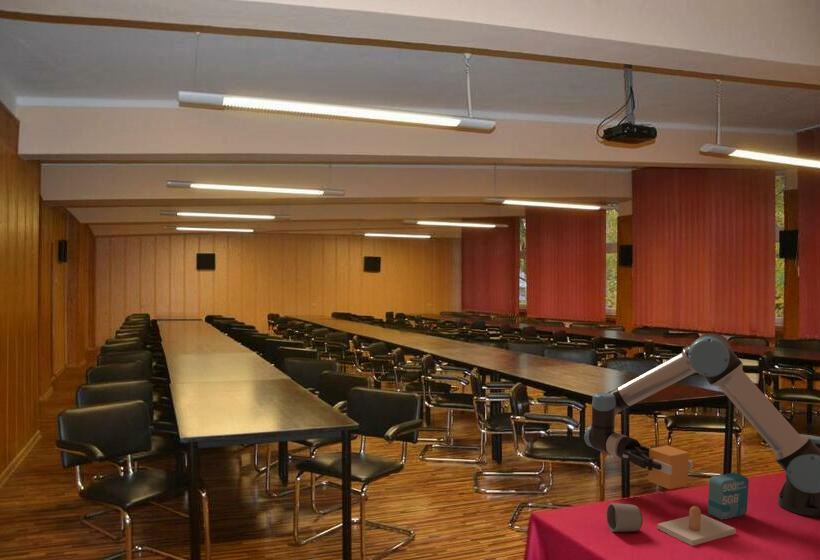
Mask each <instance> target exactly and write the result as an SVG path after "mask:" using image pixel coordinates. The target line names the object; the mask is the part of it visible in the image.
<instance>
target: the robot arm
mask: <svg viewBox="0 0 820 560" xmlns="http://www.w3.org/2000/svg"><path fill="white" fill-rule="evenodd" d="M743 364H744V363H743V362H742V360H741V359H740V358H739V357H738V356H737V354H735V353H734V351H733V349H732V344H731V343H730V341H729V340H728V339H727V338H726V337H724V336H723V335H722V334H720V333H715V332H709V333H704V334H702V335H700V336H699V337H697V339H696V340H694V341H693V342H691V343H690V344H689V345H686V346H685V347H683V348H682V351H681V353H679V354H677V355H675V356H673V357H671V358H669V359H667V360H665V361H664V362H662V363H661V364H658V365H657V366H655V367H652V368H651V369H650V370H648V371H645V372H644V373H642V374H640V375H638V376H637V377H634V378H633V379H631V380H629V381H627V382H625V383H624V384H622V385H620V386H618V387H616V388H615V389H612V390H609V391H607V392H603V391H602V392H596V393H593V394H592V400H591V401H592V402H591V425H590V426H588V427H587V428H586V430H585V433H584V435H583V439H584V442H585V444H586V445H587V446H588V447H590V448H593V449H594V450H596V451H599V452H603V453H605V454H608V455H611V456H612V457H613V456H614V457H615V459H621V460H623V461H625V462H629V463H632V464H633V465H636V466H637V467H640V468H642V469H647V471H652V468H653V469H656V470H658V471H661V472H664V473H666V474H669V475H672V465H669V464H666V463H664V462H661V461H658V460H655V459H654V460H653V461H652V459H650V458H649V449H651V448H656V446H654V445H651V446H650V447H647V446H645V445H641V443H640V442H639V441H638V439H636V438H633V437H630V436H627V435H625V434H621V433H619V432H616V431H615V428H616V427H615V425H616V420H615V419H616V416H617V415H618V413H620V412H622V411H624V410H626V409H628V408H629V407H632V406H633V405H636V404H637V403H639V402H641V401H642V400H645V399H646V398H648V397H650V396H652V395H655V394H656V393H658V392H660V391H662V390H663V389H665V388H667V387H669V386H672V385H674V384H676V383H677V382H679V381H680V380H682V379H685V378H687V377H688V376H691V375H693V374H696V373H697V374H699V375H701V376H702V377H703V378H704V379H705V381H707V382H708V383H709V385H710V386H713V387H718V388H720V390H721V391H722V392H723V393H724V394H725V395H726V397H727V398H728V399H729V401H731V402H732V404H733V405H734V406H735V407H736V408H737V409H738V411H739V412H740V413H741V414H742V416H743V417H744V418H745V419H746V420H747V422H749V423H750V424H751V426H752V427H753V428H754V429H755V430H756V431H757V432H758V435H760V436H761V437H762V439H764V441H765V442H766V443H767V444H768V446H769V447H770V448H771V449H772V451H774V454H773V455H774V456H773V459H774V460H775V462H776V463H777V464H778V465H779V466H780V468H782V470H783V471H784V472H785V480H784V483H783V485H782V487H781V490H780V492H779V493H778V498H777V503H778V506H779V507H781V509H784V510H786V511H788V512H791V513H794V514H798V515H801V516H807V517H814V518H820V436H817V435H811V434H805V433H804V434H803V433H801V434H800V433H798V431H796V429H795V428H794V427H793V426H792V425H791V424H790V422H788V420H787V419H786V418H785V417H784V416H783V414H782V413H781V412H780V411H779V410H778V409H777V408H776V407H775V406H774V405H773V403H772V402H771V401H770V400H769V399H768V397H766V395H765V394H764V393H763V392H762V391H761V389H759V388H758V386H757V385H756V384H755V383H754V381H753V380H752V379H750V377H749V376H748V375H747V373H745V371H744V370H743V368H744V367H743ZM688 471H693V461H692V460H690V459H689V465H688Z"/></svg>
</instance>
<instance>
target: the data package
mask: <svg viewBox="0 0 820 560" xmlns="http://www.w3.org/2000/svg"><path fill="white" fill-rule="evenodd" d="M749 483H750V480H749V478H748V476H744V475H741V474H740V473H736V472H729V473H724V474H718V475H712V476H711V477H710V479H709V481H708V497H707V514H708V515H710V516H712V517H715V518H716V519H719V520H721V521H724V520H723V519H725V520H729V519H733V518H732V517H734V518H738V517H742V515H743V516H744V515H746V514H747V511H748V501H749V500H748V498H749ZM728 518H729V519H728Z"/></svg>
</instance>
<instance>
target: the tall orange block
mask: <svg viewBox="0 0 820 560" xmlns="http://www.w3.org/2000/svg"><path fill="white" fill-rule="evenodd" d="M655 447H656V446H655ZM650 448H651V447H650ZM689 457H690V452H688V451H686V450H683V449H680V448H677V447H673V446H671V445H663V446H657V447H656V448H651V449H649V458H650V459H652V461H653V460H654V459H655V460H658V461H661V462H664V463H666V464H669V465H672V475H669V474H666V473H664V472H661V471H658V470H656V469H653V468H652V471H649V470H647V471H648V479H647V481H648V482H650V483H653V484H655V485H658V486H659V487H662V488H665V489H668V490H672V489H677V488H681V487H685V486H688V485H689V470H688V465H689V460H690V459H689Z"/></svg>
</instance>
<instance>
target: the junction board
mask: <svg viewBox="0 0 820 560" xmlns="http://www.w3.org/2000/svg"><path fill="white" fill-rule="evenodd" d="M657 528H658V529H660V530H661V531H660V530H659V531H660V532H662V531H663V533H664V532H665V534H666V533H667V535H669V536H670V537H673V538H675V539H677V540H679V541H681V542H682V543H686V544H687V545H689V546H691V547H692V546H693V547H694V546H698V545H700V544H703V543H704V544H705V543H707V542H710V541H714V540H717V539H722V538H725V537H728V536H732V535H735V534H736V528H735V527H732V526H730V525H727V524H725V523H723V522H721V521H718V520H716V519H713V518H712V517H709V516H707V515H705V514H703V513H702V510H701V508H699V506H696V505H694V506H691V507H690V508H689V515H687V516H684V517H680V518H676V519H671V520H668V521H663V522H660V523H657V525H656V529H657ZM658 529H657V530H658Z"/></svg>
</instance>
